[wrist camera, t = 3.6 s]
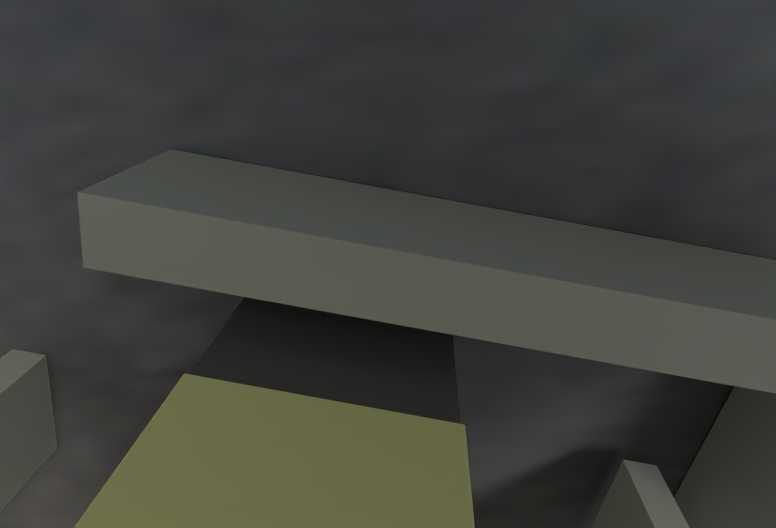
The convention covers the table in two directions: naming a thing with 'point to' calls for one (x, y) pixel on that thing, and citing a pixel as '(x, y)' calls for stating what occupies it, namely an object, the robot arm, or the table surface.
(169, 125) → the table surface
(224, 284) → the grey frame
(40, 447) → the robot arm
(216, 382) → the yellow-capped grey block
